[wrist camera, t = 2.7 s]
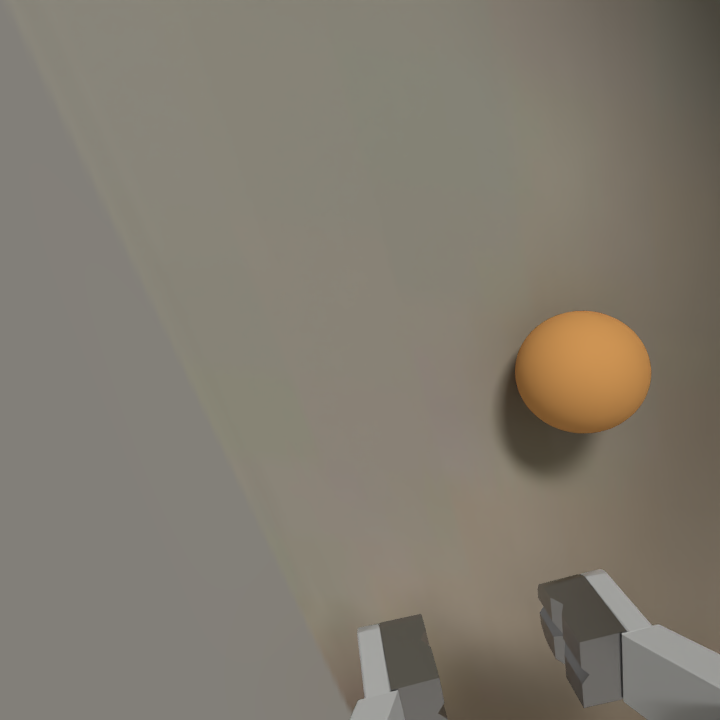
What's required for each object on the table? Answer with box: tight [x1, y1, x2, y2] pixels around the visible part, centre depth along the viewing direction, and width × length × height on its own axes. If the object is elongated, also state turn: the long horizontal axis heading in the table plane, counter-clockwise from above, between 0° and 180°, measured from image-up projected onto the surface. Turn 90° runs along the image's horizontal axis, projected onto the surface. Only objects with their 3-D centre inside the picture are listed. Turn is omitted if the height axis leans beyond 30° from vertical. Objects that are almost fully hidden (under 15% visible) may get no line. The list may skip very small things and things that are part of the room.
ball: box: [515, 311, 651, 433], centre depth 23 cm, size 6×6×6 cm
